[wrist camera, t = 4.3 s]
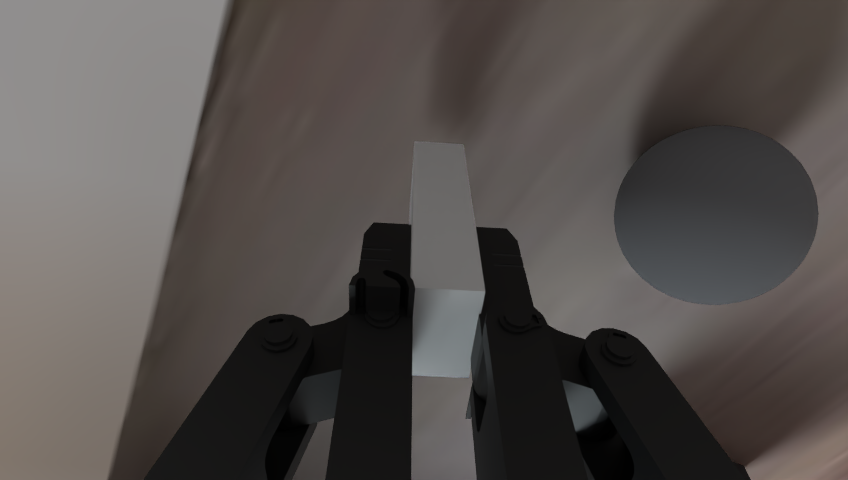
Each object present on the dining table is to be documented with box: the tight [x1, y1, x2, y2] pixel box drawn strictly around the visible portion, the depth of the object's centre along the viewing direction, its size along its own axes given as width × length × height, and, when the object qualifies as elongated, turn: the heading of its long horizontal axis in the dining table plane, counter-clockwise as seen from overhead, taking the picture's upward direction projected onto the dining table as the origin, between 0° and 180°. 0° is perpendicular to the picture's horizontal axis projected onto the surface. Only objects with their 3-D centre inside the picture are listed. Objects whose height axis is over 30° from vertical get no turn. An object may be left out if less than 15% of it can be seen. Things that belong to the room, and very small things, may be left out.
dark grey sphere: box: [614, 126, 818, 305], centre depth 16 cm, size 6×6×6 cm
